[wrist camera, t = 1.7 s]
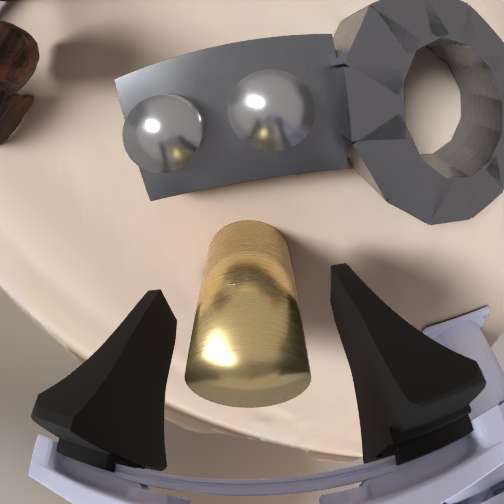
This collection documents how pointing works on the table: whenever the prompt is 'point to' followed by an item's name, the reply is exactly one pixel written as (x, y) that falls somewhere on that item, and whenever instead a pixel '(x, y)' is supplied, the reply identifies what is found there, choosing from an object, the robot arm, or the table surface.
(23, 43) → the rusty ring shackle
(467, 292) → the table surface
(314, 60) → the studded flange bracket
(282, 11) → the table surface
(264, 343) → the pin
